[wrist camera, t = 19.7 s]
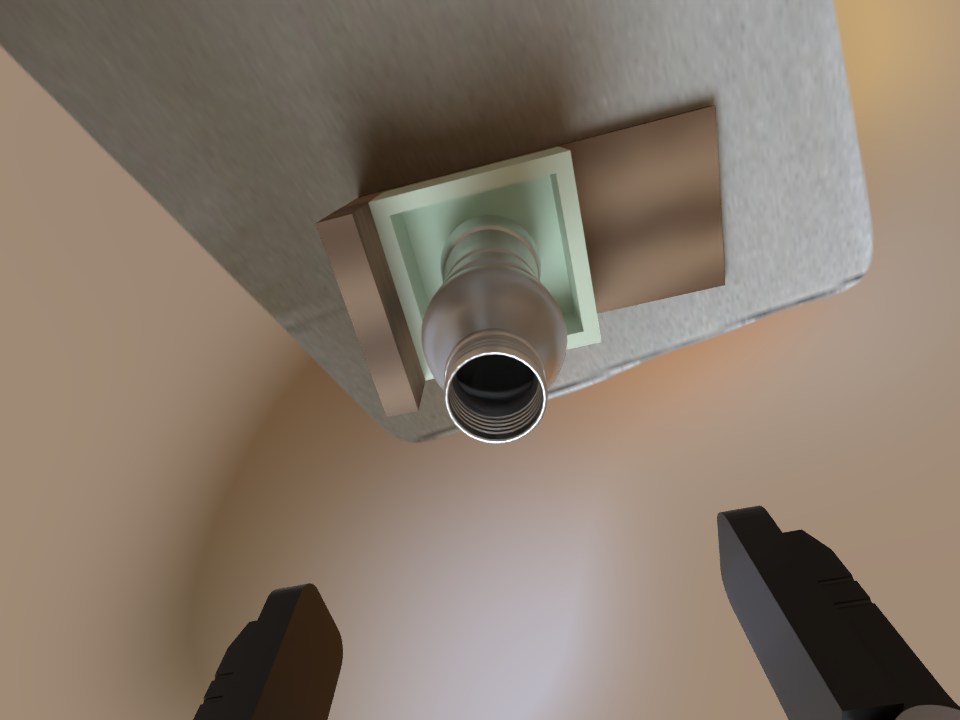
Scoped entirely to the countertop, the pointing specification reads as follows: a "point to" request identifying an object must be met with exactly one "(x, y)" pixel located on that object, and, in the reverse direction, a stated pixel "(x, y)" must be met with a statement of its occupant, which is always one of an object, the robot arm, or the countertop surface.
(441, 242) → the socket block
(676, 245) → the backstop
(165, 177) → the countertop surface
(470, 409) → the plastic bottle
